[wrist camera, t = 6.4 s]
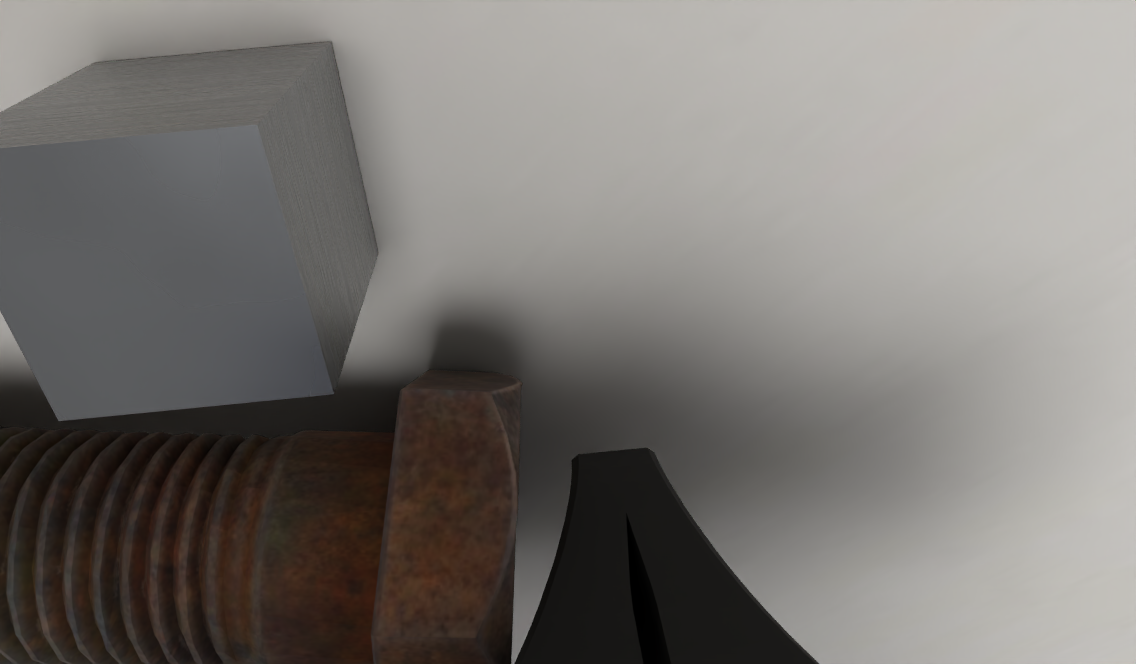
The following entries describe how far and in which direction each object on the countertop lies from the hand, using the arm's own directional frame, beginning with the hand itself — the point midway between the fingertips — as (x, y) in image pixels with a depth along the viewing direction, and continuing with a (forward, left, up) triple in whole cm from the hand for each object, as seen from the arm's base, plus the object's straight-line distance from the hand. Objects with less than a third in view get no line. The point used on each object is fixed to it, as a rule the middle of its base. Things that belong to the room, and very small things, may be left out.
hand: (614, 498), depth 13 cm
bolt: (+1, +9, -2) cm, 9 cm away
